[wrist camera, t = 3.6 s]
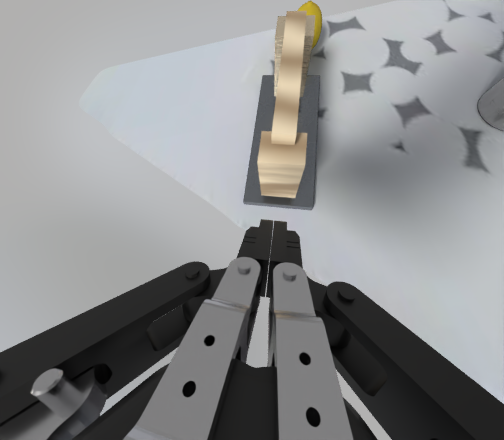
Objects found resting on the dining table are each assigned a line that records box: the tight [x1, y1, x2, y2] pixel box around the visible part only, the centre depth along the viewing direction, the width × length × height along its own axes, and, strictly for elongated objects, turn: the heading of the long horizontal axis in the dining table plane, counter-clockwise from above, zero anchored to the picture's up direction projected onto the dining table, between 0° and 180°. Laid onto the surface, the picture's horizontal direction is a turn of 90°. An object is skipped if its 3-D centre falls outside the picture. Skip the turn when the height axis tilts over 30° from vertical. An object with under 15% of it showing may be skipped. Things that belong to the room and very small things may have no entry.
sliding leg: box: [257, 11, 307, 198], centre depth 27 cm, size 20×5×12 cm, turn 172°
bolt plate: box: [243, 15, 320, 210], centre depth 29 cm, size 27×11×12 cm, turn 173°
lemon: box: [298, 1, 322, 49], centre depth 36 cm, size 6×6×8 cm
